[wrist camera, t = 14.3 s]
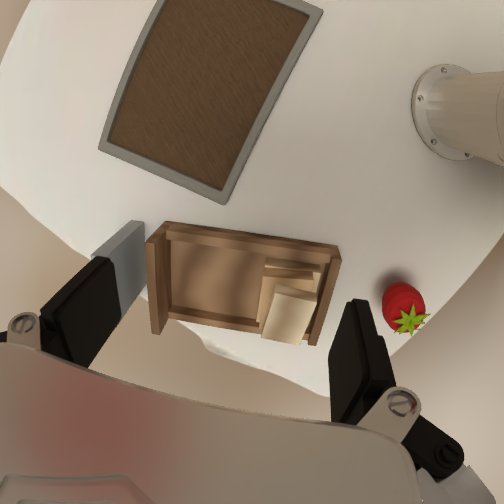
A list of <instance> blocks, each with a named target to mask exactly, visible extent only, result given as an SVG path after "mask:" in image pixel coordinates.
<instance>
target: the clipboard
mask: <svg viewBox="0 0 504 504" xmlns="http://www.w3.org/2000/svg"><path fill="white" fill-rule="evenodd" d="M322 14H323V10H322V9H320V8H318V7H316V6H314V5H312V4H309V3H307V2H305V1H302V0H157V2H156V4H155V6H154V7H153V9H152V11H151V13H150V15H149V17H148V19H147V21H146V23H145V25H144V27H143V29H142V31H141V33H140V35H139V38H138V40H137V42H136V44H135V46H134V49H133V51H132V53H131V55H130V58H129V60H128V62H127V65H126V67H125V70H124V72H123V75H122V77H121V80H120V82H119V85H118V88H117V90H116V93H115V96H114V99H113V102H112V104H111V107H110V110H109V113H108V116H107V119H106V122H105V126H104V129H103V132H102V135H101V139H100V142H99V146H98V150H100V151H102V152H105V153H107V154H110V155H112V156H114V157H116V158H119V159H121V160H123V161H126V162H128V163H130V164H133V165H135V166H137V167H139V168H142V169H144V170H146V171H148V172H151V173H153V174H155V175H157V176H160V177H162V178H164V179H166V180H169V181H171V182H173V183H175V184H178V185H180V186H182V187H184V188H186V189H189V190H191V191H193V192H195V193H197V194H199V195H202V196H204V197H206V198H208V199H210V200H213V201H215V202H217V203H219V204H221V205H225V204H226V203H227V201H228V199H229V197H230V195H231V192H232V190H233V188H234V186H235V184H236V182H237V180H238V178H239V175H240V173H241V171H242V169H243V167H244V165H245V163H246V161H247V159H248V157H249V154H250V152H251V150H252V148H253V146H254V144H255V142H256V140H257V138H258V136H259V134H260V132H261V130H262V128H263V126H264V124H265V122H266V120H267V118H268V116H269V114H270V112H271V110H272V108H273V106H274V104H275V102H276V100H277V98H278V96H279V94H280V92H281V90H282V88H283V86H284V85H285V83H286V81H287V79H288V77H289V75H290V73H291V71H292V69H293V67H294V65H295V64H296V62H297V60H298V58H299V56H300V54H301V52H302V50H303V49H304V47H305V45H306V43H307V41H308V39H309V38H310V36H311V34H312V32H313V30H314V29H315V27H316V25H317V23H318V21H319V20H320V18H321V16H322Z"/></svg>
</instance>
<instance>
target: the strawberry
mask: <svg viewBox="0 0 504 504" xmlns="http://www.w3.org/2000/svg"><path fill="white" fill-rule="evenodd" d="M425 311H426V310H425V304H424V301H423V298H422V296H421V294H420V293H419V291H418V290H416V289H415V288H413V287H412V286H411V285H409V284H407V283H403V282H399V283H394V284H392V285H390V286H389V287H388V288H387V289H386V291H385V293H384V295H383V298H382V313H383V317H384V319H385V320H386V322H387V323H388V325H389V326H390V327H391V328H392V329H393V330H395V332H400V333H399V334H401V333H406V332H410V334H411V336H412V334H413V331H414V330H421V329H416V328H417V327H419V325H420V324H425V322H422V321H423V319H424V318H426V317H427V316H429V315H431V314H425ZM395 332H394V333H395Z"/></svg>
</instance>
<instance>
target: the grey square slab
mask: <svg viewBox="0 0 504 504" xmlns="http://www.w3.org/2000/svg"><path fill="white" fill-rule="evenodd" d="M95 256H103V257H108V258H110V259H111V262H113V263H114V267H115V274H116V282H117V288H118V295H119V301H120V307H121V313H122V316H121V319H122V318H123V317H124V315H125V314H126V312H127V311H128V309H129V308H130V306H131V305H132V303H133V302H134V301H135V299H136V298H137V296H138V295H139V294H140V292H141V291H142V289H143V288H144V286H145V285H146V284H147V274H146V258H145V236H144V222H142V221H134V220H131V221H130V222H129V223H127V224H126V225H125V226H124V227H123V228H121V229H120V230H119V231H118V232H117V233H116V234H114V235H113V236H112V237H111V238H110V239H109V240H107V241H106V242H105V243H104V244H103V245H102V246H100V247H99V248H98V249H97V250H96V251H95V252H94V253H93V254H91V260H92V259H93V258H94V257H95ZM120 321H121V320H120ZM118 324H119V323H118ZM116 327H117V326H116Z"/></svg>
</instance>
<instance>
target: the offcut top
mask: <svg viewBox="0 0 504 504" xmlns="http://www.w3.org/2000/svg"><path fill="white" fill-rule="evenodd" d="M316 305H317V297H316V293H313V292H309V291H305V290H301V289H296V288H292V287H288V286H284V285H279V284H276V285H275V288H274V291H273V294H272V298H271V301H270V304H269V307H268V310H267V313H266V317H265V320H264V323H263V326H262V332H261V338H265V339H270V340H274V341H279V342H284V343H289V344H293V345H298V346H299V344H300V342H301V340H302V338H303V335H304V333H305V331H306V328H307V326H308V324H309V321H310V319H311V317H312V314H313V312H314V309H315V307H316Z"/></svg>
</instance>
